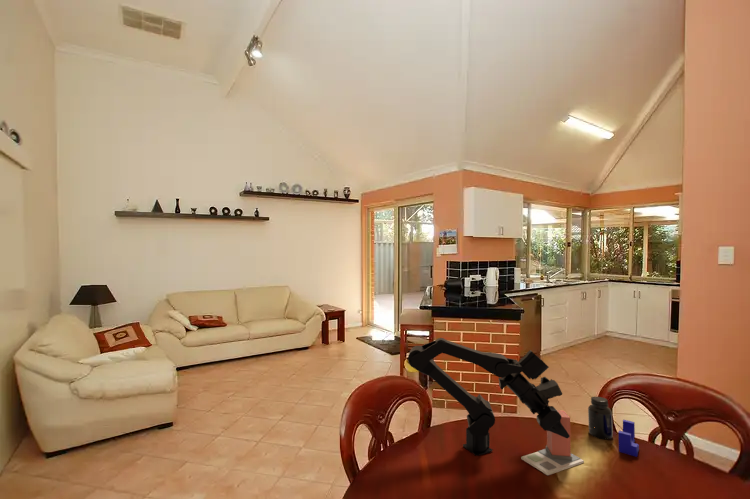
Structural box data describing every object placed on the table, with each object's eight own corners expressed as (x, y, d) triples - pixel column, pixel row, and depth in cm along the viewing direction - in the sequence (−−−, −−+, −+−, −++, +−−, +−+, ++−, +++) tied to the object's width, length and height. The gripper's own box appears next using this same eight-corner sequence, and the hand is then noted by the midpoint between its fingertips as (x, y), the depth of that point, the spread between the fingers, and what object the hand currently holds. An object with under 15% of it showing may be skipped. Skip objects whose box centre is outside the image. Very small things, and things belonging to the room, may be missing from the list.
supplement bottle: (605, 430, 123) (605, 395, 124) (617, 440, 116) (616, 403, 117) (584, 429, 124) (584, 394, 124) (594, 439, 117) (594, 402, 118)
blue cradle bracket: (637, 457, 107) (636, 437, 107) (618, 452, 110) (618, 432, 110) (640, 442, 116) (640, 423, 116) (623, 437, 119) (623, 419, 119)
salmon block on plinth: (551, 458, 104) (550, 416, 104) (545, 448, 110) (545, 408, 110) (572, 460, 103) (571, 418, 103) (565, 450, 109) (565, 410, 109)
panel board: (547, 475, 97) (547, 472, 97) (521, 458, 105) (521, 455, 105) (583, 462, 103) (583, 459, 103) (556, 447, 112) (556, 445, 112)
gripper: (552, 381, 99) (597, 426, 96) (535, 363, 117) (572, 400, 115) (522, 408, 100) (566, 452, 97) (510, 385, 118) (546, 422, 116)
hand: (563, 429), depth 106 cm, fingers open, 9 cm apart
